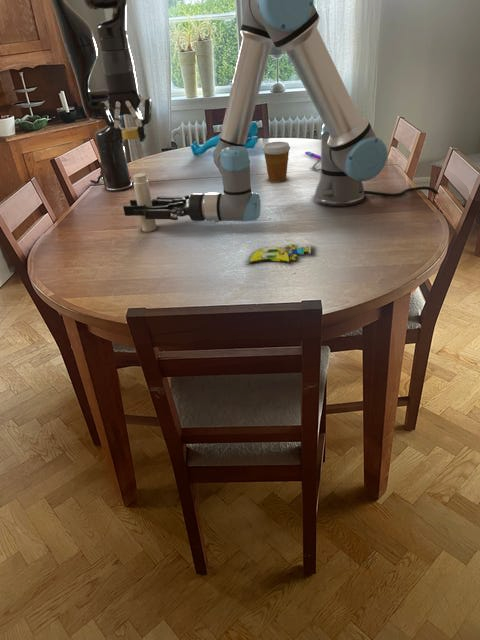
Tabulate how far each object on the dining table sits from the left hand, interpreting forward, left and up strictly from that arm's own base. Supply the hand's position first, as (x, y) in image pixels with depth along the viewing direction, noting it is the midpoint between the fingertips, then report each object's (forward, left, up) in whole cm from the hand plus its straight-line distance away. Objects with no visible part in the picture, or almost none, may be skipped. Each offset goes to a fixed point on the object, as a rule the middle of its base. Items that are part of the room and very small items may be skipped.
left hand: (132, 141), depth 128 cm
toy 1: (-25, +80, -25) cm, 87 cm away
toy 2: (+44, -1, -25) cm, 51 cm away
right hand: (-5, -2, -18) cm, 19 cm away
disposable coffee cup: (+14, +54, -25) cm, 61 cm away
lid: (0, 0, +3) cm, 3 cm away
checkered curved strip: (+22, +77, -25) cm, 84 cm away
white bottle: (0, 0, -25) cm, 25 cm away
